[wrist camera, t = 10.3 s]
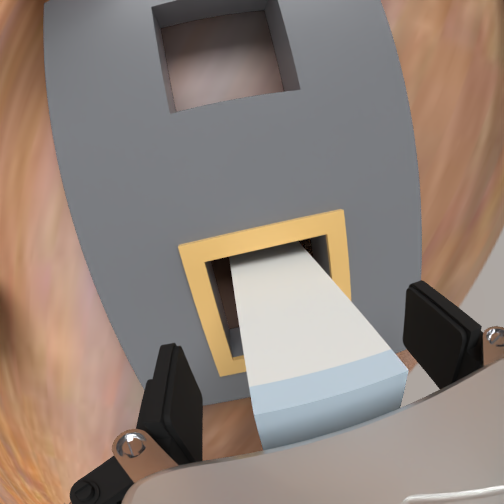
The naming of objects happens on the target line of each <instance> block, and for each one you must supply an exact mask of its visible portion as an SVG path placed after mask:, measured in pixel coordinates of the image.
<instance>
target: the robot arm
mask: <svg viewBox="0 0 504 504" xmlns="http://www.w3.org/2000/svg"><path fill="white" fill-rule="evenodd" d="M403 344H404V346H405V348H406V349H407V350H408V351H409V352H410V353H411V355H412V356H413V357H414V358H415V359H416V361H417V362H418V363H419V364H420V365H421V367H422V368H423V369H424V370H425V371H426V372H427V374H428V375H429V376H430V377H431V379H432V380H433V381H434V382H435V384H436V385H437V386H438V387H439V389H440V390H438V391H436V392H434V393H432V394H430V395H428V396H426V397H424V398H422V399H420V400H418V401H416V402H413V403H411V404H409V405H406V406H404V407H402V408H399V409H397V410H395V411H392V412H390V413H387V414H385V415H382V416H380V417H377V418H374V419H372V420H369V421H366V422H364V423H361V424H358V425H355V426H352V427H349V428H346V429H343V430H340V431H337V432H334V433H330V434H327V435H324V436H320V437H317V438H313V439H310V440H306V441H302V442H298V443H294V444H290V445H286V446H282V447H277V448H273V449H268V450H263V451H258V452H253V453H248V454H242V455H237V456H231V457H225V458H218V459H212V460H206V461H202V417H203V398H202V394H201V391H200V389H199V387H198V384H197V382H196V380H195V378H194V375H193V373H192V371H191V368H190V366H189V363H188V361H187V359H186V356H185V354H184V351H183V349H182V347H181V346H177V345H176V344H175V343H170V344H165V345H161V346H160V349H159V353H158V357H157V362H156V366H155V370H154V375H153V379H149V380H148V381H147V383H146V386H145V391H144V395H143V399H142V404H141V408H140V413H139V417H138V422H137V427H136V429H131V430H127V431H125V432H123V433H121V434H120V435H119V436H117V438H116V439H115V440H114V442H113V445H112V452H113V454H114V456H113V457H111V458H110V459H109V460H107V461H106V462H104V463H103V464H102V465H100V466H99V467H97V468H96V469H94V470H93V471H92V472H90V473H89V474H87V475H86V476H84V477H83V478H81V479H80V480H78V481H77V482H76V483H75V484H74V485H73V486H72V488H71V491H70V500H71V502H70V503H69V504H504V328H503V327H498V326H495V327H490V328H488V329H486V330H485V332H484V333H483V332H482V331H481V326H480V325H479V324H478V323H477V322H475V321H474V320H473V319H472V318H470V317H469V316H468V315H467V314H466V313H464V312H463V311H462V310H461V309H459V308H458V307H457V306H456V305H454V304H453V303H452V302H450V301H449V300H448V299H447V298H445V297H444V296H443V295H441V294H440V293H439V292H437V291H436V290H435V289H433V288H432V287H431V286H429V285H428V284H427V283H425V282H424V281H422V280H421V281H418V282H415V283H412V284H410V285H409V288H408V289H407V290H406V302H405V317H404V329H403ZM64 504H65V503H64Z"/></svg>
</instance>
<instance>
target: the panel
mask: <svg viewBox="0 0 504 504" xmlns="http://www.w3.org/2000/svg"><path fill="white" fill-rule="evenodd" d="M262 10H264V11H265V15H266V18H267V22H268V26H269V30H270V34H271V37H272V41H273V45H274V49H275V54H276V58H277V62H278V66H279V70H280V75H281V79H282V84H283V88H284V92H278V93H270V94H263V95H257V96H251V97H245V98H239V99H234V100H228V101H223V102H218V103H213V104H209V105H204V106H200V107H195V108H191V109H187V110H183V111H179V112H176V109H175V104H174V99H173V94H172V88H171V83H170V78H169V73H168V67H167V62H166V56H165V51H164V45H163V39H162V33H161V28H164V27H168V26H172V25H176V24H180V23H185V22H189V21H194V20H199V19H204V18H209V17H215V16H221V15H228V14H235V13H243V12H252V11H262ZM43 31H44V64H45V78H46V89H47V98H48V106H49V114H50V121H51V127H52V133H53V139H54V145H55V150H56V155H57V160H58V165H59V169H60V174H61V178H62V182H63V186H64V190H65V194H66V198H67V202H68V206H69V209H70V213H71V216H72V220H73V223H74V226H75V230H76V233H77V236H78V239H79V242H80V245H81V248H82V251H83V254H84V257H85V260H86V263H87V266H88V268H89V271H90V274H91V276H92V279H93V282H94V284H95V287H96V289H97V292H98V294H99V297H100V299H101V302H102V304H103V307H104V309H105V311H106V314H107V316H108V318H109V320H110V323H111V325H112V327H113V329H114V331H115V334H116V336H117V338H118V340H119V342H120V344H121V346H122V348H123V350H124V352H125V354H126V356H127V358H128V360H129V362H130V364H131V366H132V368H133V370H134V372H135V374H136V376H137V377H138V379H139V381H140V383H141V385H142V387H143V388H144V390H145V386H146V383H147V381H148V380H149V379H153V375H154V370H155V366H156V362H157V357H158V353H159V349H160V346H161V345H165V344H170V343H175V344H176V345H177V346H181V347H182V349H183V351H184V354H185V356H186V359H187V361H188V363H189V366H190V368H191V371H192V373H193V375H194V378H195V380H196V382H197V384H198V387H199V389H200V391H201V394H202V398H203V405H209V404H215V403H221V402H227V401H232V400H237V399H242V398H247V397H251V395H250V389H249V383H248V377H247V371H246V365H245V359H244V353H243V346H242V340H241V333H240V327H238V328H233V329H229V325H228V322H227V318H226V315H225V311H224V308H223V304H222V300H221V297H220V293H219V289H218V286H217V282H216V278H215V274H214V271H213V267H212V263H211V260H216V259H220V258H224V257H229V256H233V255H237V254H242V253H246V252H251V251H255V250H259V249H264V248H268V247H273V246H277V245H281V244H286V243H290V242H295V241H299V240H303V239H308V238H311V245H312V253H313V259H314V260H315V261H316V262H317V263H318V264H319V265H320V266H321V268H322V269H323V270H324V271H325V272H326V273H327V274H328V275H329V277H330V278H331V279H332V280H333V281H334V282H335V283H336V285H337V286H338V287H339V288H340V289H341V290H342V291H343V293H344V294H345V295H346V296H347V297H348V298H349V299H350V301H351V302H352V303H353V304H354V305H355V306H356V308H357V309H358V310H359V311H360V312H361V313H362V315H363V316H364V317H365V318H366V319H367V321H368V322H369V323H370V324H371V325H372V326H373V328H374V329H375V330H376V331H377V332H378V334H379V335H380V336H381V337H382V338H383V340H384V341H385V342H386V343H387V344H388V346H389V347H390V348H391V349H392V350H393V352H394V353H395V354H396V353H398V352H401V351H403V350H406V348H405V346H404V344H403V329H404V317H405V302H406V290H407V289H408V288H409V285H410V284H412V283H415V282H418V281H421V263H422V224H421V199H420V184H419V172H418V162H417V153H416V145H415V138H414V131H413V125H412V118H411V113H410V107H409V102H408V97H407V92H406V87H405V82H404V78H403V74H402V70H401V66H400V62H399V58H398V54H397V50H396V47H395V43H394V40H393V36H392V33H391V30H390V27H389V24H388V21H387V18H386V15H385V12H384V9H383V6H382V3H381V1H380V0H49V1H48V2H46V3H44V29H43Z"/></svg>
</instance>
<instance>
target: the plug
mask: <svg viewBox="0 0 504 504" xmlns="http://www.w3.org/2000/svg"><path fill="white" fill-rule="evenodd" d="M229 259H230V266H231V273H232V280H233V287H234V294H235V301H236V307H237V314H238V320H239V327H240V333H241V340H242V346H243V353H244V359H245V365H246V371H247V377H248V383H249V389H250V395H251V401H252V407H253V413H254V417H255V421H256V425H257V429H258V432H259V436H260V440H261V443H262V447H263V450H268V449H273V448H277V447H282V446H286V445H290V444H294V443H298V442H302V441H306V440H310V439H313V438H317V437H320V436H324V435H327V434H330V433H334V432H337V431H340V430H343V429H346V428H349V427H352V426H355V425H358V424H361V423H364V422H366V421H369V420H372V419H374V418H377V417H380V416H382V415H385V414H387V413H390V412H392V411H395V410H397V409H399V408H400V406H401V402H402V398H403V393H404V389H405V385H406V380H407V376H408V371H409V370H408V369H407V368H406V366H405V365H404V364H403V363H402V361H401V360H400V359H399V358H398V357H397V355H396V354H395V353H394V352H393V350H392V349H391V348H390V347H389V346H388V344H387V343H386V342H385V341H384V340H383V338H382V337H381V336H380V335H379V334H378V332H377V331H376V330H375V329H374V328H373V326H372V325H371V324H370V323H369V322H368V321H367V319H366V318H365V317H364V316H363V315H362V313H361V312H360V311H359V310H358V309H357V308H356V306H355V305H354V304H353V303H352V302H351V301H350V299H349V298H348V297H347V296H346V295H345V294H344V293H343V291H342V290H341V289H340V288H339V287H338V286H337V285H336V283H335V282H334V281H333V280H332V279H331V278H330V277H329V275H328V274H327V273H326V272H325V271H324V270H323V269H322V268H321V266H320V265H319V264H318V263H317V262H316V261H315V260H314V259H313V258H312V256H311V255H310V254H309V253H308V252H307V251H306V250H305V249H304V248H303V246H302V245H301V244H300V243H299V242H298V241H295V242H290V243H286V244H281V245H277V246H273V247H268V248H264V249H259V250H255V251H251V252H246V253H242V254H237V255H233V256H229Z"/></svg>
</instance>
